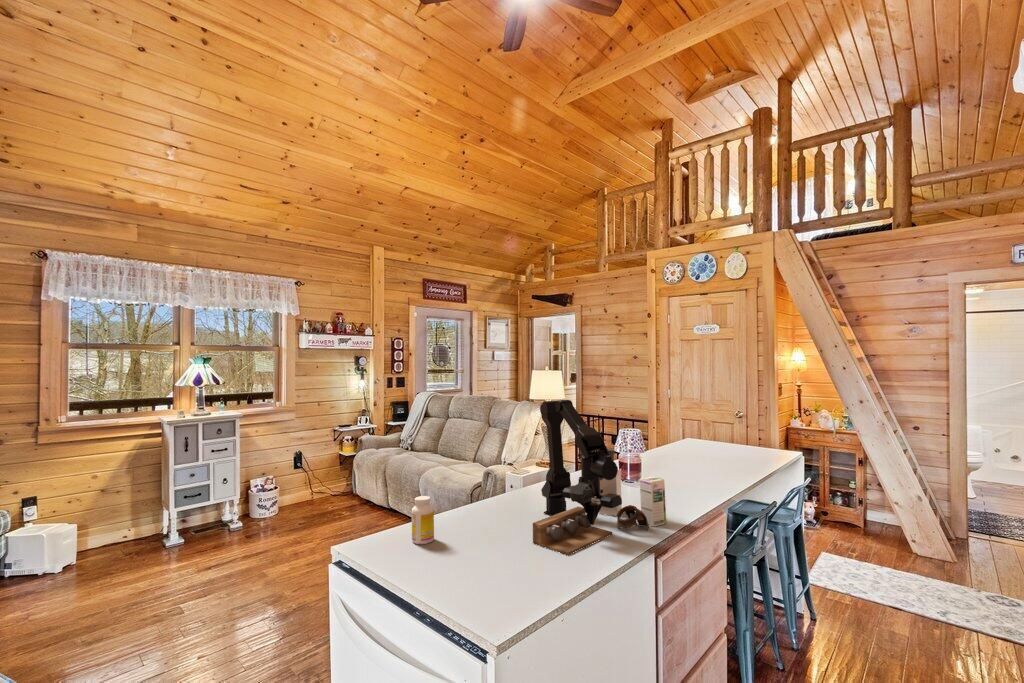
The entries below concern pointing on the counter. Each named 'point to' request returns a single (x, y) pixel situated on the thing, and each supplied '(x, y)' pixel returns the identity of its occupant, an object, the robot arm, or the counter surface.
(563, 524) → the knob middle
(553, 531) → the knob near
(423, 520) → the supplement bottle
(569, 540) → the panel
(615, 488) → the soap dispenser
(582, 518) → the knob far
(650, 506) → the syrup box
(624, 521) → the pottery mug
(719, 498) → the counter surface
